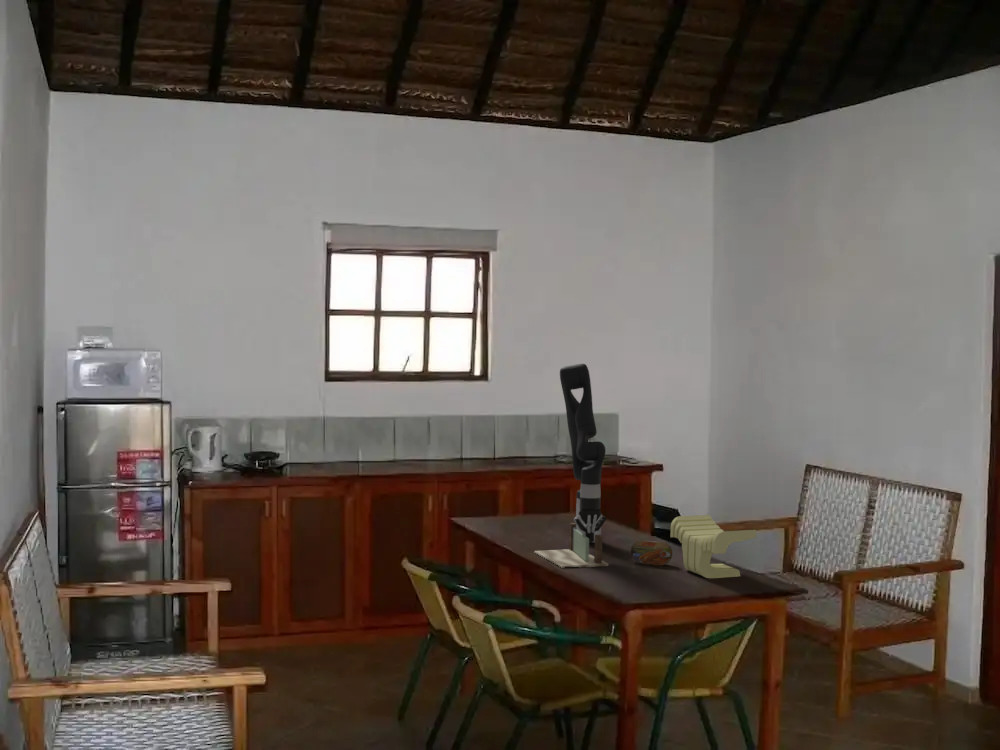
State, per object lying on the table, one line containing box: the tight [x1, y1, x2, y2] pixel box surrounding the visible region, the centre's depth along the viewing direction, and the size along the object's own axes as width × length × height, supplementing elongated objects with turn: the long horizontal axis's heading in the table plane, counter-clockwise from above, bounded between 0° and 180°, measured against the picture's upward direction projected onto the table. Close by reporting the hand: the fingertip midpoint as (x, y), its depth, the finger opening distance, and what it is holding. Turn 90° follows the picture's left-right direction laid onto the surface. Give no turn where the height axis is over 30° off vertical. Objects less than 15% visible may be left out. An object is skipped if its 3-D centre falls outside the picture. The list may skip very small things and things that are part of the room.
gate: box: [573, 527, 590, 561], centre depth 403 cm, size 2×21×8 cm, turn 9°
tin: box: [630, 540, 673, 566], centre depth 397 cm, size 15×3×8 cm, turn 70°
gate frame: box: [533, 522, 609, 569], centre depth 401 cm, size 18×27×11 cm, turn 19°
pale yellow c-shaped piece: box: [669, 514, 757, 579], centre depth 383 cm, size 30×16×18 cm, turn 20°
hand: (589, 542), depth 402 cm, fingers closed
